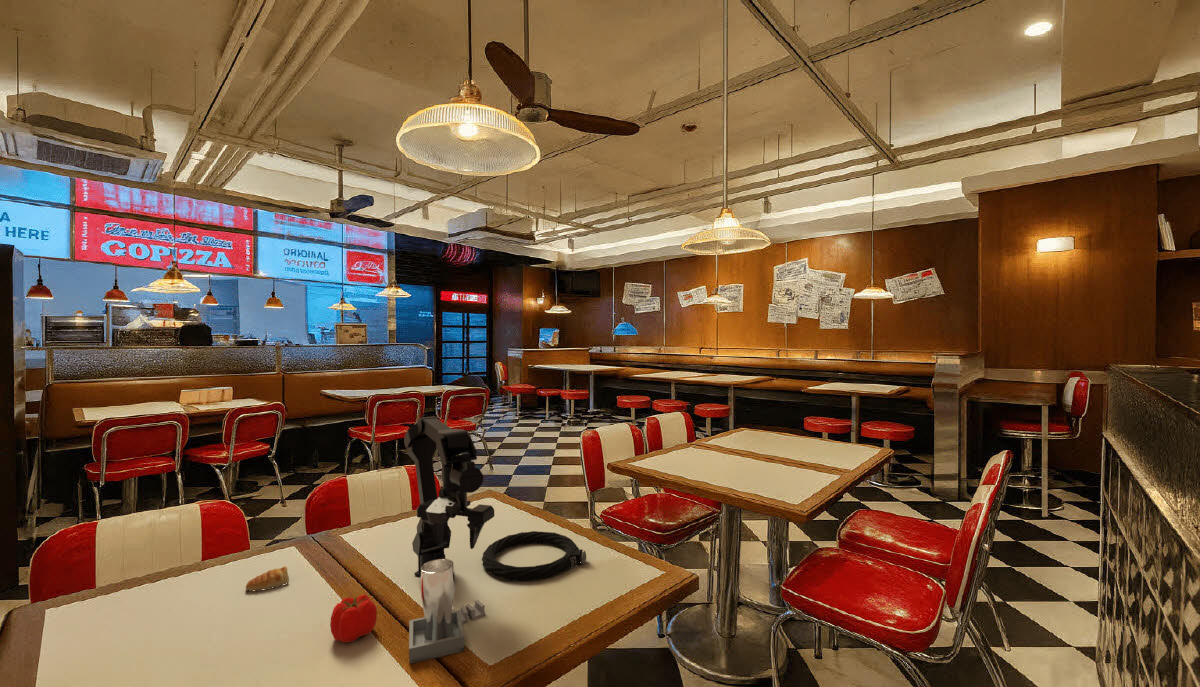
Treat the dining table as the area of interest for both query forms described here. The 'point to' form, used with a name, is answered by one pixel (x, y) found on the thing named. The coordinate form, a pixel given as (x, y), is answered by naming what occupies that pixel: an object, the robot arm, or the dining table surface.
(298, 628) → the dining table surface
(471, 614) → the clip
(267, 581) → the pastry
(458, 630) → the holder
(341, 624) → the tomato
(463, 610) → the clip
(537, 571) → the cable lock
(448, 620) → the beer glass
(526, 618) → the dining table surface
